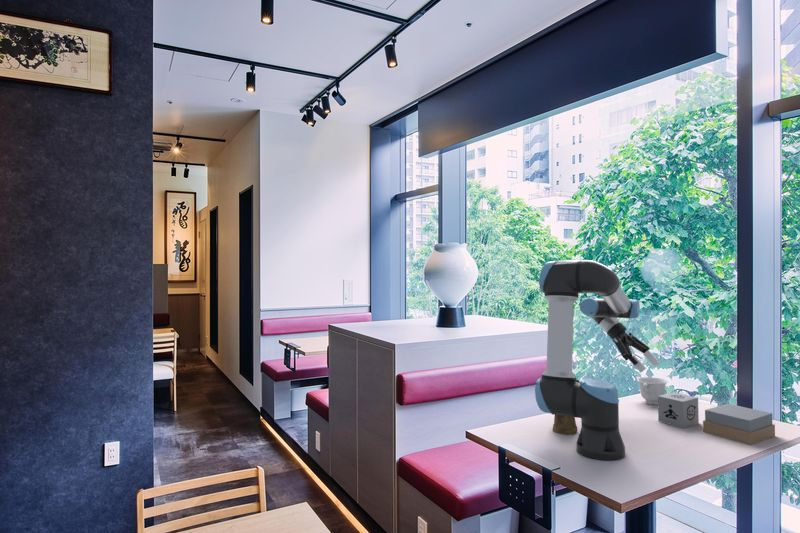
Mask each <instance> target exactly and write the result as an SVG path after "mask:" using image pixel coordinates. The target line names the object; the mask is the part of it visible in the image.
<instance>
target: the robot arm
mask: <svg viewBox="0 0 800 533" xmlns="http://www.w3.org/2000/svg"><path fill="white" fill-rule="evenodd" d="M538 286H539V290H540V292H541V293H543V294H544V298H545V300H546V301H547V302H548V309H547V310H548V313H547V337H546V338H547V344H546V366H545V367H546V368H545V370H544V371H543V372H542V373H541V377H540V378H538V379H536V382H535V385H534V396H535V401H536V404H537V406H538V408H539V410H540V411H542V412H544V413H547V414H551V415H554V416H555V414H557V415H564V416H570V417H575V418H577V419H578V418H579V419H580V420H581V422H580V423H581V428H580V431H579V434H578V437H577V441H576V451H577V453H579V454H580V455H582V456H584V457H587V458H588V459H589V458H590V459H594V460H598V461H599V460H600V461H601V460H602V461H614V460H615V461H616V460H620V459H623V458H624V457H625V456H626V447H625V443H624V440H623V438H622V435H621V432H620V421H619V420H620V419H619V418H620V417H619V414H620V413H619V402H620V400H619V393H618V392H619V391H618V388H617V387H616V386H615V385H614V384H612V383H611V382H609V381H606V380H605V381H604V380H601V379H597V378H583V379H581V380H580V381H579V382H580V383H577V382H576V380H577V376H576V375H575V373H573V349H574V348H573V344H574V343H573V342H574V341H573V340H574V339H573V338H574V336H573V335H574V311H575V310H574V308H575V307H574V305H575V302H577V301H578V300H579V295H580V294H596V295H597V296H600V297H601V298H598V297H597V296H595V295H593V296H590V297H585V298H583V299H582V300H581V301H580V303H579V310H580V312H581V314H583V315H584V316H587V317H590V318H591V319H593V321H594V322H595V323H596V324H598V326H599V327H600V329H601V330H603V331H604V332H605V333H606V335H607V336H608V337H609V338H610V340H612V342H613V343H614V345H615V346H616V347H617V349H618V352H619V353H620V355H621V356H622V359H624V360H625V361H628V360H629V362H630V363H631V364H632V365H633V366H634V367H635V368H636V369H637V371H639V372H640V373H643V371H645V370H646V369H647V367H646V366H645V365H644V363H643V362H641V361H640V359H639V358H638V357H636V355H633V353H632V352H633V351H631V347H632V348H634V349H635V350H637V351H639V352H641V353H642V355H643V356H644V357H645V358H646V359H647V361H648V362H649V363H650V364H652V366H653V367H657V366H658V365H659V364H661V362H660V360H659V359H657V357H656V356H655V355H654V354H652V352H651V351H650V347H649V346H648V345H647V344H645V342H642V341H641V340H640V339H638V338H637V337H636V336H635V335H634V334H633V333H632V332H629V333H627V332H626V331H627V327H626V326H625V325H624V324H623V323H622V322H620V320H619V319H630V320H631V319H638V318H639V316H640V312H641V307H640V301H639V300H638V299H632V298H629V297H628V295H627V294H626V293H625V291H624V290H623V289H622V287H621V285H620V278H619V277H618V275H617V274H616V272H614V270H612V269H611V268H610V267H608V266H606V265H604V264H602V263H600V262H597V261H596V260H595V261H594V260H591V259H590V260H589V259H582V260H577V259H576V260H572V259H571V260H570V259H569V260H567V259H566V260H559V259H558V260H553V261H552V260H551V261H547V262H545V263H544V264H543V266H542V267H541V270H540V273H539V277H538Z"/></svg>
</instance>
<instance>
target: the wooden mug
mask: <svg viewBox="0 0 800 533" xmlns="http://www.w3.org/2000/svg"><path fill="white" fill-rule="evenodd" d="M576 382H577V383H580V382H581V381H579V379H576ZM552 431H553V432H554V433H556V434H560V435H575V434H577V433H578V426H577V422H576V417H570V416H564V415H557V414H555V415H554V419H553V425H552Z"/></svg>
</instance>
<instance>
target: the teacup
mask: <svg viewBox="0 0 800 533" xmlns="http://www.w3.org/2000/svg"><path fill="white" fill-rule="evenodd" d="M636 381H637V382H638V385H639V390H640V395H641V397H642V399H644V400H645V403H646V404H648V405H658V396H660V395H664V394H666V393H665V390H666V386H667V385H666V384H667V383H668V380H666V379H663V378H661V377H660V378H659V377H653V376H651V377H650V376H649V377H647V376H646V377H645V376H644V377H643V376H642V377H639V378H637V379H636Z"/></svg>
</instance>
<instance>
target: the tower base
mask: <svg viewBox="0 0 800 533" xmlns="http://www.w3.org/2000/svg"><path fill="white" fill-rule="evenodd" d="M704 419H705V420H702V422H703V423H702V431H703V433H707V434H710V435H715V436H718V437H721V438H725V439H729V440H732V441H737V442H740V443H743V444H747V445H751V446H752V445H754V444H757V443H760V442H763V441H765V440H768V439H771V438H773V437H775V436H776V427H775V426H776V425H775V423H774V424H773V413H772V412H767V411H763V410H760V409H755V408H754V409H753V408H749V407H745V406H740V405H737V404H731V403H726V404H723V405H722V404H721V405H717V406H715V407H711V408H707V409H705V410H704ZM770 437H771V438H770Z"/></svg>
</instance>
